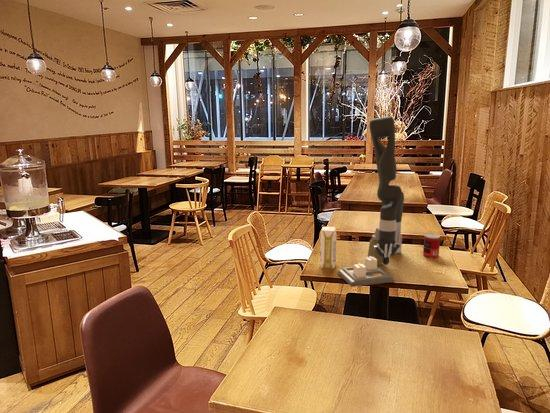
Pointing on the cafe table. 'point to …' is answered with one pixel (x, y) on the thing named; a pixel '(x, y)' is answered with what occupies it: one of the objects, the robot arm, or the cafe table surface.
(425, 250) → the canned food
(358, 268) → the tab
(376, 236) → the squeeze bottle
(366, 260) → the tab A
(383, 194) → the robot arm
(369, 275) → the grey tray
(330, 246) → the juice carton
